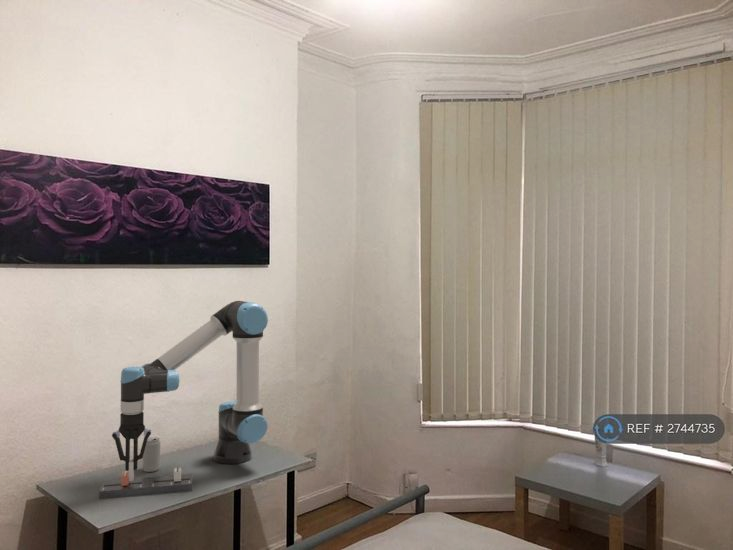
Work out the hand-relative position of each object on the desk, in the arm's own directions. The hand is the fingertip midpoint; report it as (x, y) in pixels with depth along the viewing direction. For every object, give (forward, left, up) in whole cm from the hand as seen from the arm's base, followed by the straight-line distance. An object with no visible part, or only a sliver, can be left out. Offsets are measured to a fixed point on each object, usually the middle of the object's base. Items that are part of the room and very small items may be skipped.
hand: (131, 479), depth 210 cm
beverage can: (-5, -20, -4) cm, 21 cm away
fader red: (+2, 0, -1) cm, 2 cm away
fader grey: (-15, 0, -1) cm, 15 cm away
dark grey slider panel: (-5, 0, -4) cm, 7 cm away
